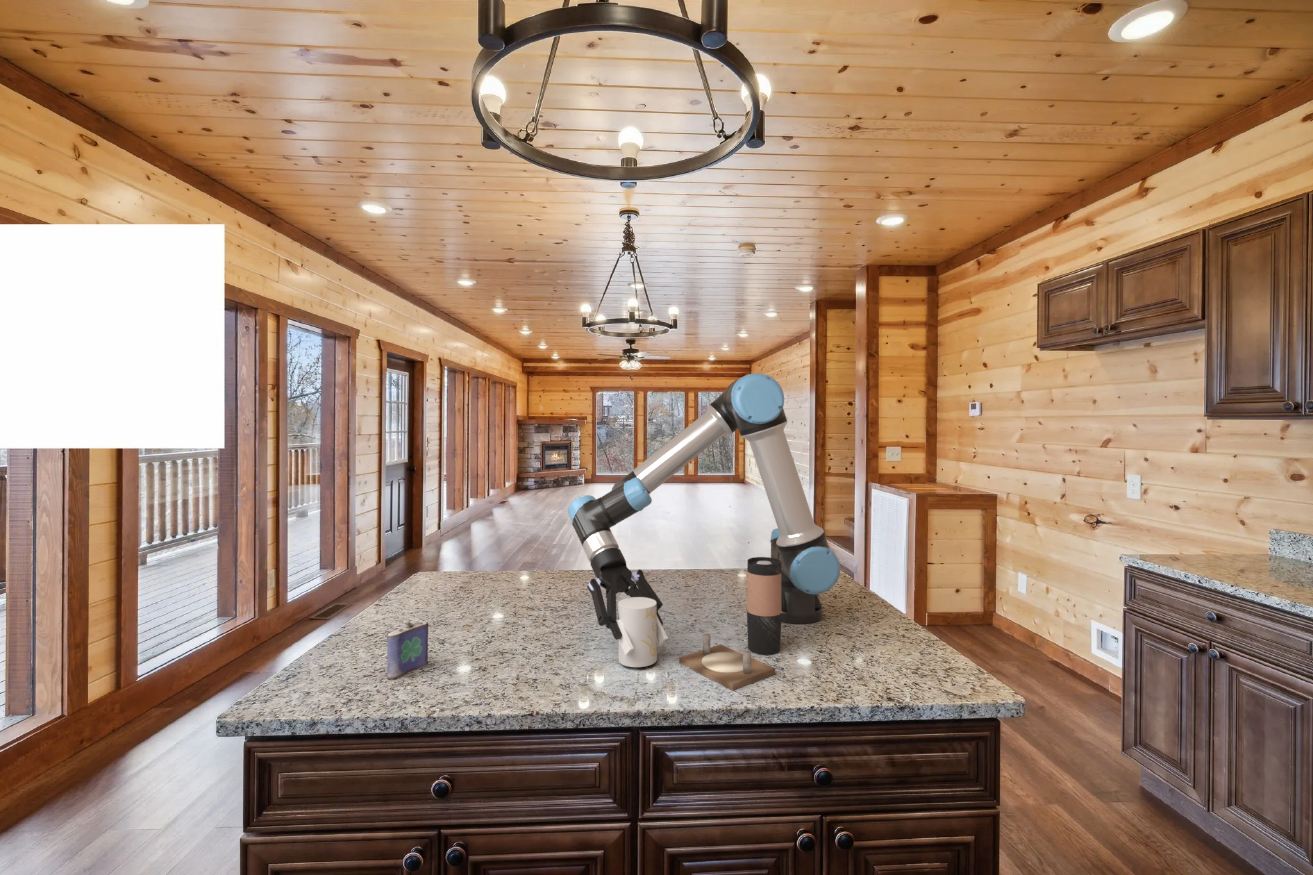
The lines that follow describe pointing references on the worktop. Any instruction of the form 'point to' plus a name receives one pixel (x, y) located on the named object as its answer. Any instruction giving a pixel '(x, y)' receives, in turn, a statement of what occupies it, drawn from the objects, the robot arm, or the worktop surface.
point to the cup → (639, 630)
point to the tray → (726, 665)
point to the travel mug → (764, 605)
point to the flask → (407, 649)
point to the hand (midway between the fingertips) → (647, 646)
